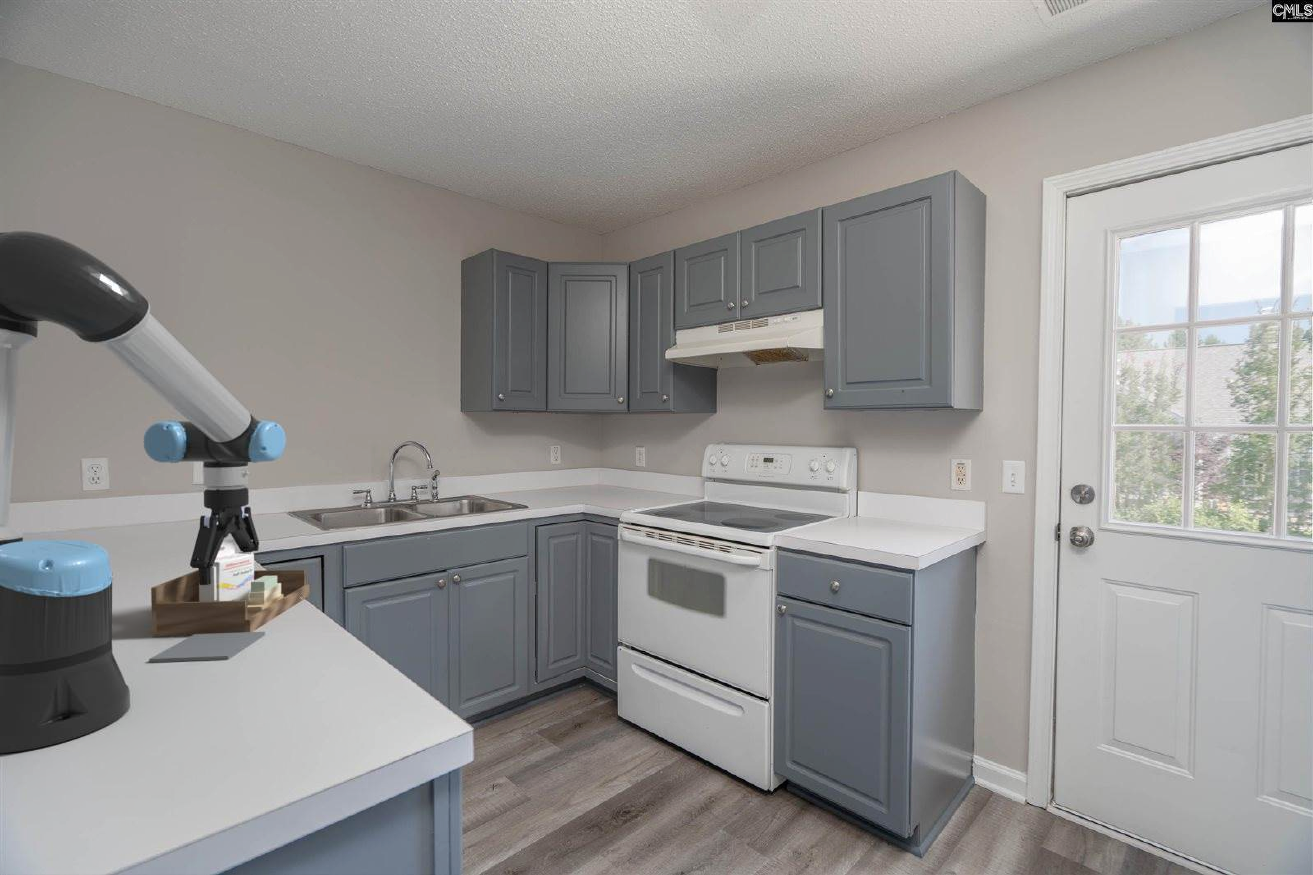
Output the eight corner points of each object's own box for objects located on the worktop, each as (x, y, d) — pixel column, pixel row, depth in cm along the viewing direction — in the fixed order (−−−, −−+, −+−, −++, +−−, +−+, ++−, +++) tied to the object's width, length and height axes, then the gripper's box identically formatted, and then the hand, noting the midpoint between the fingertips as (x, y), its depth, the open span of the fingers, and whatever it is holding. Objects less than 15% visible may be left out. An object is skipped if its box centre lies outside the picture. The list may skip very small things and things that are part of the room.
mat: (228, 659, 103) (228, 655, 103) (149, 662, 101) (149, 659, 101) (264, 634, 115) (264, 631, 115) (194, 637, 113) (194, 634, 113)
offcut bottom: (261, 621, 123) (261, 606, 123) (245, 622, 123) (245, 607, 123) (283, 608, 132) (283, 594, 132) (268, 608, 132) (268, 594, 132)
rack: (250, 633, 116) (249, 585, 116) (152, 636, 114) (151, 587, 114) (309, 595, 141) (309, 556, 141) (230, 597, 139) (229, 557, 139)
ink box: (219, 621, 122) (218, 547, 122) (198, 620, 123) (197, 546, 123) (256, 609, 131) (255, 539, 130) (236, 607, 132) (235, 538, 131)
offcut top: (264, 591, 125) (264, 581, 125) (250, 591, 125) (250, 582, 125) (277, 585, 130) (277, 575, 130) (264, 585, 130) (264, 575, 130)
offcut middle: (264, 604, 125) (264, 592, 125) (249, 605, 124) (249, 592, 124) (281, 594, 132) (281, 583, 132) (267, 595, 131) (266, 583, 131)
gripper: (209, 494, 115) (211, 608, 115) (276, 481, 139) (277, 575, 140) (165, 494, 114) (167, 609, 114) (240, 481, 138) (241, 576, 139)
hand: (227, 591), depth 127 cm, fingers open, 13 cm apart
